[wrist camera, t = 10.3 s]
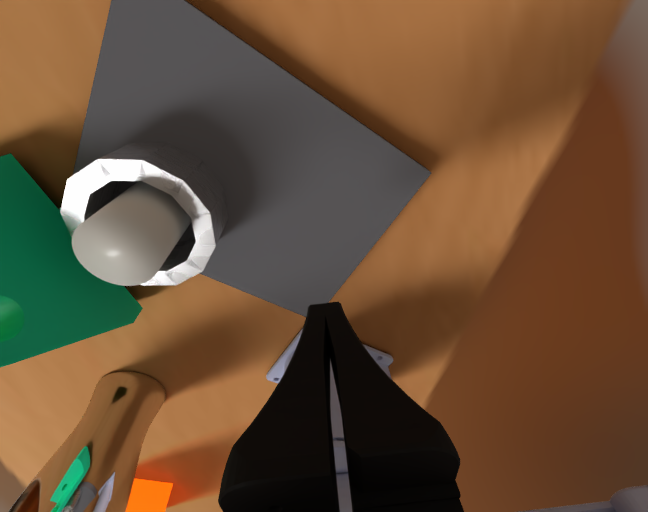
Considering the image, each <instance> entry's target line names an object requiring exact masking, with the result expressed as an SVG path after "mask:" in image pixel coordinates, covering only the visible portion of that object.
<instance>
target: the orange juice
mask: <svg viewBox="0 0 648 512" xmlns="http://www.w3.org/2000/svg"><path fill="white" fill-rule="evenodd" d="M172 486H173V483H166V482H158V481H150V480H143V479H135V478H134V482H133V486H132V491H131V495H130V499H129V502H128V506H127V509H126V512H165V509H166V506H167V502H168V499H169V496H170V492H171V489H172Z"/></svg>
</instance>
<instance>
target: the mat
mask: <svg viewBox="0 0 648 512" xmlns="http://www.w3.org/2000/svg"><path fill="white" fill-rule="evenodd" d="M132 142H155V143H171V144H172V145H174V146H176V147H178V148H180V149H182V150H184V151H185V152H187V153H189V154H191V155H193V156H195V157H197V158H199V159H200V160H202V161H204V163H205V164H206V165H207V167H208V168H209V169H210V171H211V172H212V173H213V175H214V176H215V177H216V179H217V180H218V181H219V183H220V184H221V185H222V187H223V188H224V191H225V198H226V205H227V212H228V220H227V222H226V224H225V227H224V229H223V231H222V233H221V235H220V238H219V240H218V242H217V244H216V246H215V248H214V250H213V252H212V254H211V256H210V258H209V260H208V262H207V264H206V266H205V268H204V270H203V271H202V272H200V274H202V275H205V276H207V277H210V278H212V279H215V280H217V281H219V282H222V283H224V284H227V285H229V286H232V287H234V288H237V289H239V290H241V291H244V292H246V293H249V294H251V295H254V296H256V297H258V298H261V299H263V300H266V301H268V302H271V303H273V304H276V305H278V306H280V307H283V308H285V309H288V310H290V311H293V312H295V313H297V314H300V315H302V316H305V317H306V316H307V311H308V307H309V306H310V305H313V304H323V303H328V302H329V301H330V300H331V299H332V297H333V296H334V295H335V294H336V292H337V291H338V290H339V289H340V287H341V286H342V285H343V284H344V282H345V281H346V280H347V278H348V277H349V276H350V275H351V273H352V272H353V271H354V270H355V268H356V267H357V266H358V265H359V263H360V262H361V261H362V260H363V258H364V257H365V256H366V255H367V253H368V252H369V251H370V250H371V248H372V247H373V246H374V245H375V243H376V242H377V241H378V240H379V238H380V237H381V236H382V235H383V233H384V232H385V231H386V230H387V228H388V227H389V226H390V225H391V223H392V222H393V221H394V220H395V218H396V217H397V216H398V215H399V213H400V212H401V211H402V210H403V208H404V207H405V206H406V205H407V203H408V202H409V201H410V200H411V198H412V197H413V196H414V194H415V193H416V192H417V191H418V189H419V188H420V187H421V186H422V184H423V183H424V182H425V181H426V179H427V178H428V177H429V176H430V174H431V172H430V171H429V170H427V169H426V168H425V167H423V166H422V165H421V164H419V163H418V162H416V161H415V160H413V159H412V158H411V157H409V156H408V155H406V154H405V153H403V152H402V151H401V150H399V149H398V148H396V147H395V146H393V145H392V144H391V143H389V142H388V141H386V140H385V139H383V138H382V137H381V136H379V135H378V134H376V133H375V132H373V131H372V130H370V129H369V128H368V127H366V126H365V125H363V124H362V123H360V122H359V121H358V120H356V119H355V118H353V117H352V116H350V115H349V114H348V113H346V112H345V111H343V110H342V109H340V108H339V107H338V106H336V105H335V104H333V103H332V102H330V101H329V100H327V99H326V98H325V97H323V96H322V95H320V94H319V93H317V92H316V91H315V90H313V89H312V88H310V87H309V86H307V85H306V84H305V83H303V82H302V81H300V80H299V79H297V78H296V77H295V76H293V75H292V74H290V73H289V72H287V71H286V70H285V69H283V68H282V67H280V66H279V65H277V64H276V63H274V62H273V61H272V60H270V59H269V58H267V57H266V56H264V55H263V54H262V53H260V52H259V51H257V50H256V49H254V48H253V47H252V46H250V45H249V44H247V43H246V42H244V41H243V40H242V39H240V38H239V37H237V36H236V35H234V34H233V33H231V32H230V31H229V30H227V29H226V28H224V27H223V26H221V25H220V24H219V23H217V22H216V21H214V20H213V19H211V18H210V17H209V16H207V15H206V14H204V13H203V12H201V11H200V10H199V9H197V8H196V7H194V6H193V5H191V4H190V3H189V2H187V1H186V0H112V1H111V5H110V10H109V14H108V19H107V23H106V28H105V32H104V37H103V41H102V46H101V50H100V55H99V59H98V64H97V68H96V73H95V77H94V82H93V86H92V91H91V95H90V100H89V104H88V109H87V113H86V118H85V122H84V127H83V131H82V136H81V140H80V145H79V149H78V154H77V158H76V163H75V167H74V172H73V175H74V174H76V173H77V172H79V171H80V170H82V169H83V168H85V167H86V166H88V165H89V164H91V163H92V162H94V161H95V160H97V159H99V158H101V157H103V156H105V155H107V154H109V153H111V152H113V151H115V150H117V149H120V148H122V147H124V146H126V145H128V144H130V143H132ZM137 182H138V181H122V182H121V185H120V189H119V192H118V193H119V195H120V194H122V193H123V192H124V191H126V190H127V189H128V188H130V187H131V186H133V185H134V184H135V183H137ZM194 236H195V235H194V230H193V225H192V222H191V223H190V225H189V226H188V228H187V229H186V231H185V232H184V234H183V235H182V236H181V238H180V239H179V241H187V240H189V239H190V238H192V237H194Z"/></svg>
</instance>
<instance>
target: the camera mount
mask: <svg viewBox="0 0 648 512" xmlns="http://www.w3.org/2000/svg"><path fill="white" fill-rule="evenodd" d="M60 211H61V208H59V209H58V208H57V207H56V206H55V205H54V203H53V202H52V201H51V200H50V199H49V198H48V196H47V195H46V194H45V193H44V192H43V190H42V189H41V188H40V187H39V186H38V185H37V183H36V182H35V181H34V180H33V179H32V178H31V176H30V175H29V174H28V173H27V172H26V171H25V169H24V168H23V167H22V166H21V165H20V163H19V162H18V161H17V160H16V159H15V158H14V156H13V155H12V154H11V153H10V154H7V155H4V156H1V157H0V367H3V366H6V365H10V364H13V363H16V362H19V361H21V360H24V359H27V358H30V357H33V356H36V355H39V354H42V353H45V352H48V351H51V350H54V349H57V348H60V347H63V346H66V345H69V344H72V343H75V342H78V341H81V340H83V339H86V338H89V337H92V336H95V335H98V334H101V333H104V332H107V331H110V330H113V329H116V328H119V327H122V326H125V325H128V324H131V323H134V321H135V319H136V318H137V316H138V315H139V313H140V312H141V310H142V307H141V306H140V304H139V303H138V302H137V301H136V300H135V299H134V297H133V296H132V295H131V294H130V293H129V291H128V290H127V289H126V288H125V287H124V286H122V285H116V284H112V283H109V282H106V281H104V280H102V279H100V278H98V277H96V276H95V275H93V274H92V273H90V272H89V271H88V270H87V269H85V268H84V267H83V266H82V264H81V263H80V262H79V261H78V259H77V258H76V256H75V254H74V251H73V248H72V237H71V235H70V233H69V231H68V228H67V226H66V224H65V222H64V220H63V217H62V215H61V213H60Z"/></svg>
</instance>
